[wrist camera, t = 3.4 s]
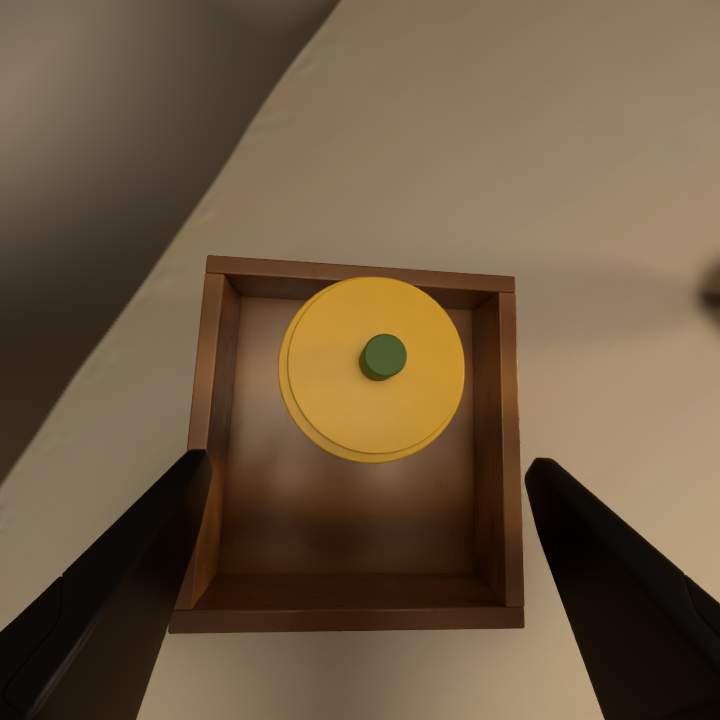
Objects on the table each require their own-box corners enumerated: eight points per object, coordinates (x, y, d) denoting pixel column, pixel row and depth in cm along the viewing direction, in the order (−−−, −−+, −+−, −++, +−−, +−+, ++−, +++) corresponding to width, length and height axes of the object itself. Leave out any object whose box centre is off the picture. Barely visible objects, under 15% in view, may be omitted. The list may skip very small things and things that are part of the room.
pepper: (402, 459, 17) (479, 511, 8) (279, 428, 17) (225, 449, 8) (429, 339, 18) (524, 273, 9) (313, 308, 18) (298, 210, 9)
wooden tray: (470, 567, 19) (525, 629, 14) (215, 567, 18) (167, 634, 13) (468, 309, 21) (515, 275, 16) (239, 295, 20) (206, 254, 15)
